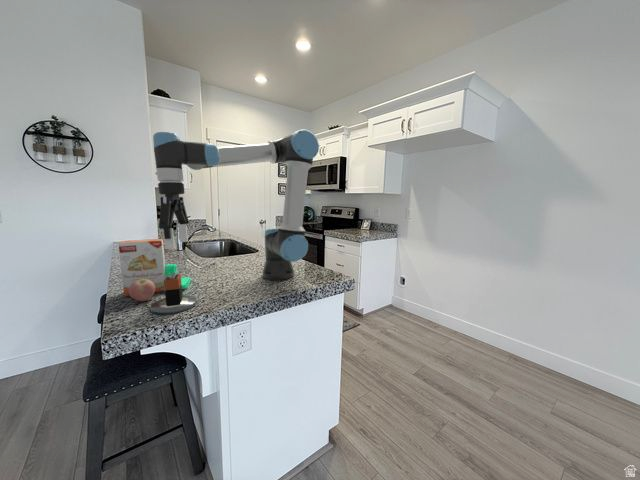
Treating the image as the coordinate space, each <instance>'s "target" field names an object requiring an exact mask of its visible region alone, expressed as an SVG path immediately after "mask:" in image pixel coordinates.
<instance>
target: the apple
mask: <svg viewBox="0 0 640 480" xmlns="http://www.w3.org/2000/svg"><path fill="white" fill-rule="evenodd" d="M155 293H156V292H155V285H154V283H153V282H152V281H151V280H149V279H139V280H136V281H134V282H133V283H132V284H131V285H130V287H129V294H130V295H129V296H130V297H131V299H133V300H134V301H137V302H146V301H149V300H151V298H153V296H154V295H155Z"/></svg>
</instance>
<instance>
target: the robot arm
mask: <svg viewBox="0 0 640 480" xmlns="http://www.w3.org/2000/svg"><path fill="white" fill-rule="evenodd" d="M152 138H153V139H152V141H153V152H154V159H155V166H156V168H155V169H156V172H155V175H156V176H157V177H156V178H157V181H158V184H157V187H158V193H159V195H164V196H161V197H160V207H159V208H160V209H159V210H160V211H159V219H158V220H159V221H158V228H159V230H161V229H162V233H163V234H162V235H163V245H164V249H165V250H173V249H176V244H175V234H174V228H172V227H173V226H172V225H173V221H174V215H175V218H176V219H177V222H178V224H177V228H178V238H179V243H188V242H189V237H188V228H187V227H188V226H187V224H190V221H189V218H188V214H187V210H186V207H185V203H184V197H183V196H180V195H184V194H185V184H184V183H183V182H184V181H185V180H184V173H183V172H184V171H183V165H185V166H187V167H188V168H190V169H191V170H194V171H195V170H196V171H197V170H198V171H199V170H202V169H210V168H219V167H227V166H237V165H247V164H257V163H266V162H270V163H271V164H285V166H286V167H287V173H286V181H285V183H286V184H285V192H284V202H283V205H284V206H283V212H282V213H283V214H282V223H281V225H279V226H278V228H269V229H266V230H265V231H264V245H265V246H264V249H265V262H264V266H263V269H262V272H261V273H262V278H263V279H265V280H269V281H282V280H287V279H291V278H294V276H295V269H294V267H293V264H292V262H298V261H300V260H302V259H303V258H304V257H305V256H306V255H307V253H308V251H309V242H308V240H307V238H306V237H305V235H306V230H305V229H304V226H303V223H304V213H305V203H306V196H307V195H306V193H307V185H308V174H309V170H311V168H313V162H314V161H313V160H314V158H315V157H316V156H317V155H318V153H319V150H320V144H319V143H320V142H319V140H318V138H317V137H316V135H315V134H314V133H312V132H311V131H310V130H308V129H298V130H295V131H294V132H293V133H290V134H289V135H286V136H284V137H281V138H280V139H279V138H278V139H275V140H269V141H267V143H258V144H257V143H256V144H241V145H229V146H227V145H226V146H217V145H216V144H215V143H209V142H197V141H196V142H195V141H193V142H192V141H183V140H181V139H180V135H179V134H177V133H175V132H174V133H173V132H167V131H158V132H155V133H154V134H153V136H152Z"/></svg>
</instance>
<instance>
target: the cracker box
mask: <svg viewBox="0 0 640 480" xmlns="http://www.w3.org/2000/svg"><path fill="white" fill-rule="evenodd" d="M117 244H118V252H119V262H120V269H121V278H122V279H121V280H122V287H123V289H122V290H123V295H124V297H128V296H130V294H129V287H130V285H131V284H132V283H133V282H134V281H136V280H139V279H149V280H151V281H152V282H153V283H154V285H155V292H154V293H161V292H165V291H164V280H165V267H166V261H165V260H166V259H165V250H164V249H165V245H164V238H159V239H158V238H156V239H135V240H133V239H132V240H121V241H120V242H118V243H117Z"/></svg>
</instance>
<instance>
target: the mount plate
mask: <svg viewBox="0 0 640 480" xmlns="http://www.w3.org/2000/svg"><path fill="white" fill-rule="evenodd" d="M182 295H183V298H182V301H181V304H179V305H172V306H166V297H164V298H162V299H158V300H156V301H155V302H153V303H151V305H150V312H151V313H152V314H155V315H164V316H165V315H173V314H178V313H181V312H185V311H188V310H191V309H193V308H194V307H195V306H196V305H197V301H198V300H197V297H196V296H194V295H187V294H186V295H185V294H182Z"/></svg>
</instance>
